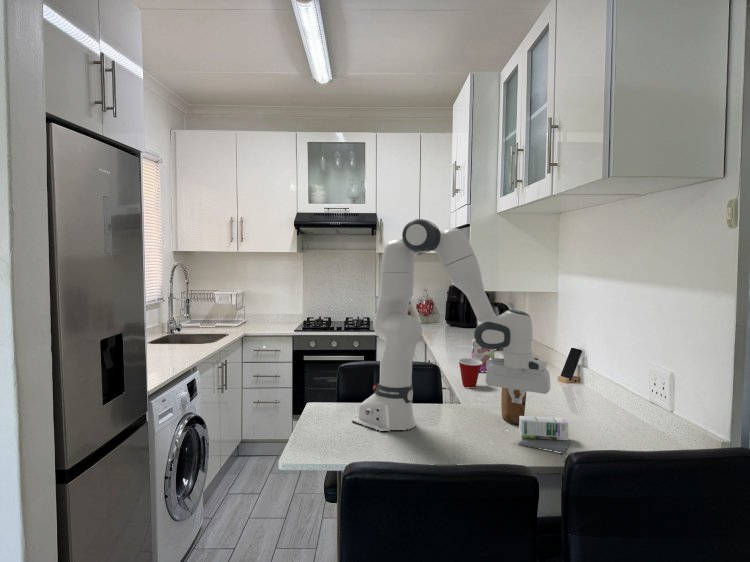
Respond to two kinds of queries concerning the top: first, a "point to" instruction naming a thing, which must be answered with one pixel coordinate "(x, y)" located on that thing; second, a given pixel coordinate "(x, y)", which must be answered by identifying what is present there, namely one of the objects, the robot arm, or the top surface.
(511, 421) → the block
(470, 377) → the plastic cup
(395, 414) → the robot arm
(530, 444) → the mat
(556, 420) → the syrup box
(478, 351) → the candy bar box
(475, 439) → the top surface
